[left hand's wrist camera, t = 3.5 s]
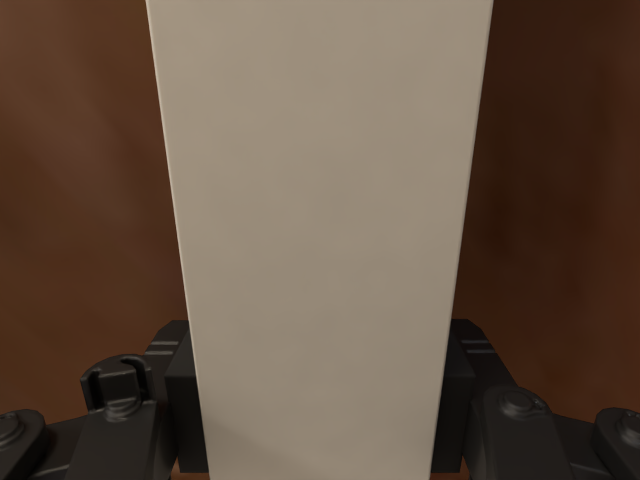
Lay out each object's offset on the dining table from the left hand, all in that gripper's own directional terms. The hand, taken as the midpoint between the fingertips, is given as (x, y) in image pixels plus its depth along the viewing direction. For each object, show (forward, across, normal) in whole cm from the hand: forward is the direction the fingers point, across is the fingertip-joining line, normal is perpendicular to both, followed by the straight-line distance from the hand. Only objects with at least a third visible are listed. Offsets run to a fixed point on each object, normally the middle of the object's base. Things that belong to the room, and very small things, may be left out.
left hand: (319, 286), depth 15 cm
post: (+1, 0, -34) cm, 34 cm away
